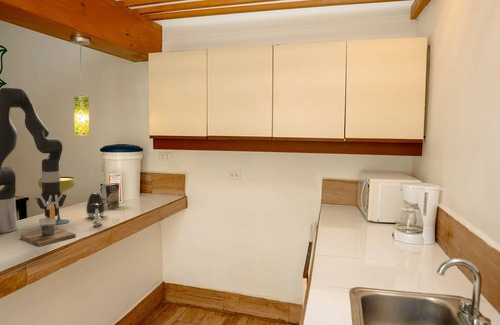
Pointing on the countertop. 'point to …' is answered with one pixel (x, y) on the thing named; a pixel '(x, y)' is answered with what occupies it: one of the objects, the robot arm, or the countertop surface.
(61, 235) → the base board
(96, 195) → the black egg-shaped body
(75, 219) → the countertop surface
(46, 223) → the coupling
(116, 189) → the coffee box
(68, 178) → the cocktail glass
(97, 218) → the valve
